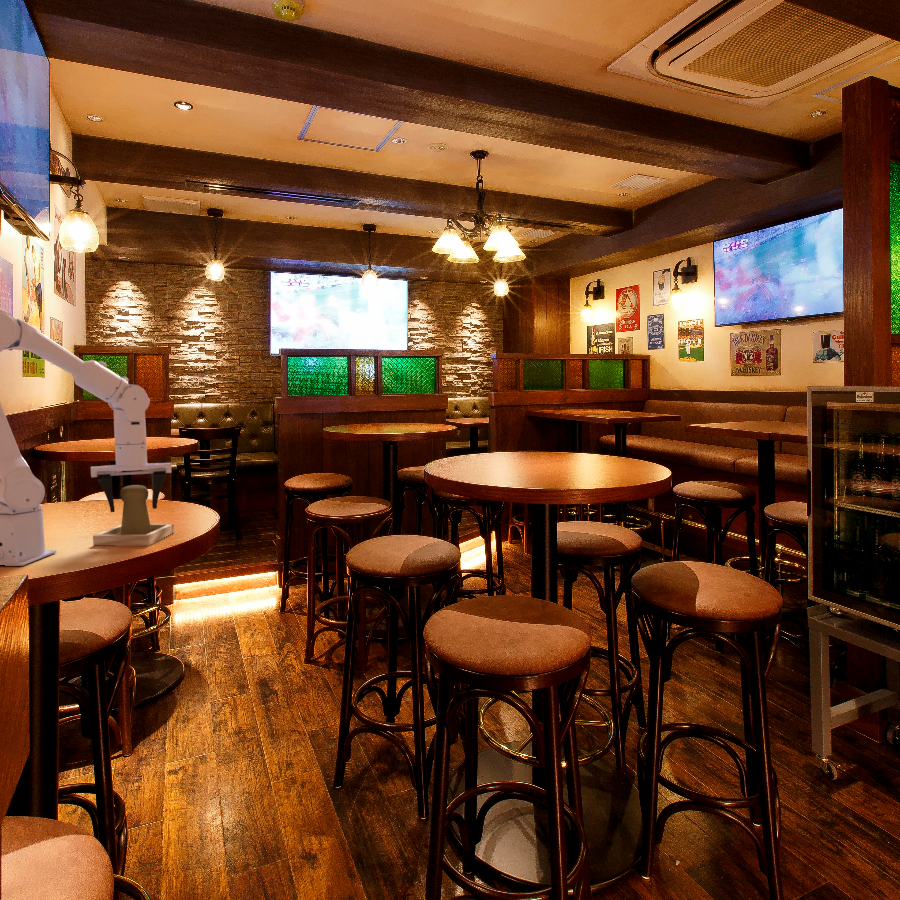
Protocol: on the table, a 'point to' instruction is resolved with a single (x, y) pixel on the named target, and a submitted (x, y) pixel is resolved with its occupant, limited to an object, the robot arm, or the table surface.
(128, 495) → the cork
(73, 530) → the table surface
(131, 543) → the open square wooden box
